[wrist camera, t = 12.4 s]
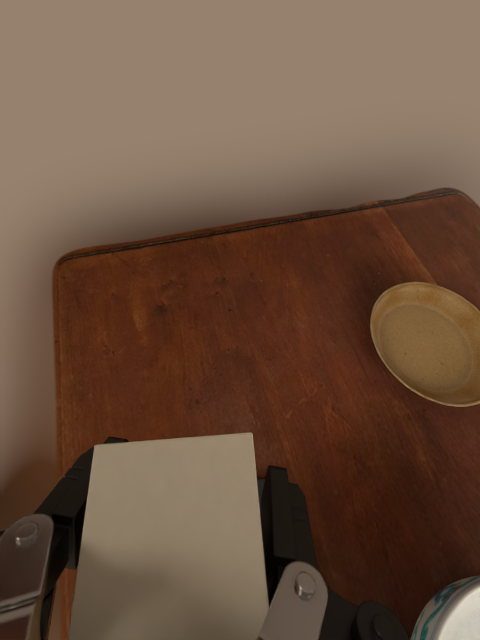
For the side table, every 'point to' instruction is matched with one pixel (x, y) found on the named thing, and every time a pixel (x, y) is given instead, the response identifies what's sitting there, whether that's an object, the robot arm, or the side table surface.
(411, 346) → the plant saucer
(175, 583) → the block
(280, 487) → the robot arm
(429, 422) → the side table surface
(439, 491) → the side table surface
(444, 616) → the chinaware
